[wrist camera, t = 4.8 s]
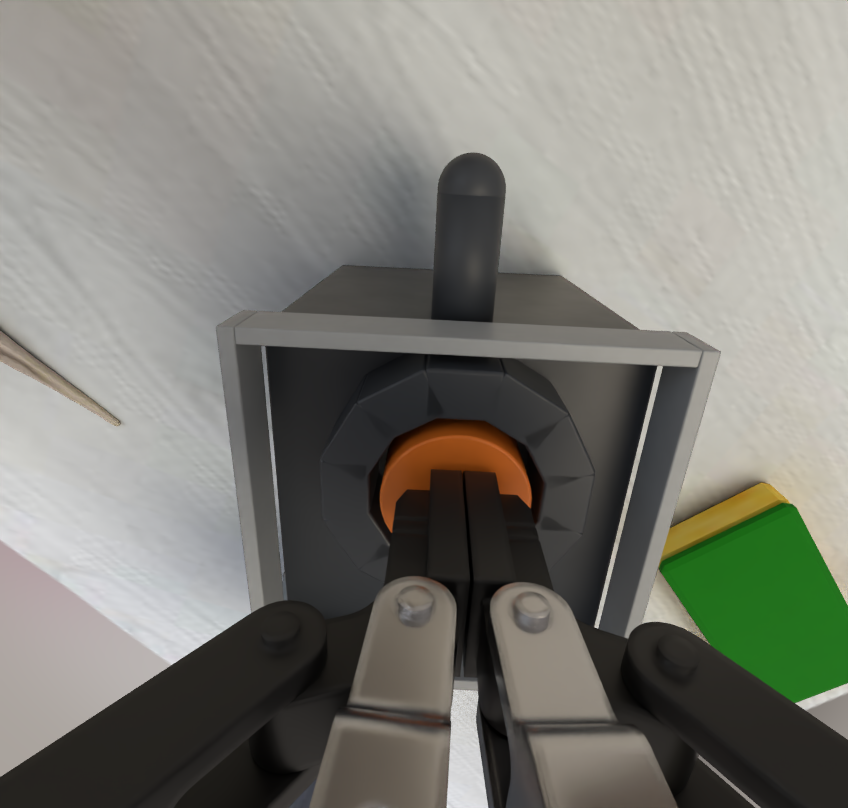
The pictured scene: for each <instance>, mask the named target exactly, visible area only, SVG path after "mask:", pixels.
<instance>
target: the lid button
mask: <svg viewBox="0 0 848 808" xmlns="http://www.w3.org/2000/svg"><path fill="white" fill-rule="evenodd" d="M431 469H440V470H459V471H462V480H463V472H464V471H480V472H495V473H496V477H497V482H498V487H499V492H500V494H510V495H518V496H519V497H520V498H521V499H522V500H523V501H524V502H525V503H526V504H527V505H528V507H529V508H530V509H531V502H532V494H531V487H530V483H529V479H528V476H527V473H526V469H525V466H524V463H523V460H522V456H521V453H520V450H519V447H518V444H517V441H516V440H515V439H514V438H512V437H510V436H509V435H507V434H506V433H504V432H502V431H501V430H499V429H497V428H496V427H494V426H492V425H491V424H489V423H487V422H486V421H477V420H458V419H438V418H437V419H435V420H433V421H430V422H428V423H426V424H424V425H422V426H419V427H417V428H415V429H413V430H411V431H409V432H406V433H404V434H402V435H400V436H398V437H395V438H394V440H393V441H392V442H391V444H390V445H389V449H388V453H387V459H386V464H385V469H384V474H383V479H382V484H381V489H380V508H381V512H382V516H383V518H384V521H385V523H386V525H387V527H388V528H389V530H390V532H391V533H392V527H393V520H394V513H395V506H396V501H397V500H398V499H399V498H400V497H401V496H402V494H403V493H404V492H405V491H406V490H407V489H413V490H430V475H431Z"/></svg>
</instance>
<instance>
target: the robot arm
mask: <svg viewBox="0 0 848 808" xmlns="http://www.w3.org/2000/svg"><path fill="white" fill-rule="evenodd" d="M462 654H463V671H464V677H471V678H477V682H478V696H479V698H478V706H477V714H476V724H477V731H478V738H479V745H480V752H481V759H482V766H483V773H484V780H485V787H486V794H487V801H488V807H489V808H755V807H754V806H753V805H752V804H750V803H749V802H748V801H747V800H746V799H745V798H743V797H742V796H741V795H740V794H739V793H738V792H736V791H735V790H734V789H733V788H732V787H731V786H730V785H729V784H727V783H726V782H725V781H724V780H723V779H722V778H720V777H719V776H718V775H717V774H716V773H715V772H714V771H712V770H711V769H710V768H709V767H708V766H707V765H705V764H704V763H703V762H702V761H701V760H699V759H698V756H699V755H700V756H702V757H703V758H704V759H705V760H706V761H708V762H709V763H710V764H711V765H712V766H713V767H715V768H716V769H717V770H718V771H719V772H720V773H721V774H723V775H724V776H725V777H726V778H727V779H728V780H730V781H731V782H732V783H733V784H734V785H735V786H736V787H738V788H739V789H740V790H741V791H742V792H743V793H745V794H746V795H747V796H748V797H749V798H751V799H752V800H753V801H754V802H755V803H756V804H758V805H759V806H760V807H761V808H848V740H847V739H846V738H844V737H843V736H841V735H840V734H839V733H837V732H836V731H834V730H833V729H831V728H830V727H828V726H827V725H826V724H824V723H823V722H821V721H820V720H818V719H817V718H815V717H814V716H812V715H811V714H810V713H808V712H807V711H805V710H804V709H802V708H801V707H799V706H798V705H796V704H795V703H794V702H792V701H791V700H789V699H788V698H786V697H785V696H783V695H782V694H780V693H779V692H778V691H776V690H775V689H773V688H772V687H770V686H769V685H767V684H766V683H764V682H763V681H762V680H760V679H759V678H757V677H756V676H754V675H753V674H751V673H750V672H748V671H747V670H746V669H744V668H743V667H741V666H740V665H738V664H737V663H735V662H734V661H732V660H731V659H730V658H728V657H727V656H725V655H724V654H722V653H721V652H719V651H718V650H716V649H715V648H714V647H712V646H711V645H709V644H708V643H706V642H705V641H703V640H702V639H701V638H699V637H697V636H696V635H694V634H693V633H691V632H689V631H687V630H685V629H683V628H680V627H678V626H675V625H671V624H668V623H662V622H649V623H644V624H641V625H639V626H637V627H635V628H634V629H633V630H632V631H631V633H630V635H629V638H625V637H622V636H618V635H615V634H612V633H609V632H606V631H603V630H599V629H597V628H594V627H591V626H589V625H587V624H585V623H583V622H581V621H580V620H578V619H577V618H575V617H574V615H573V612H572V610H571V608H570V606H569V605H568V604H567V602H566V601H565V600H564V599H563V598H562V597H561V596H560V595H558V594H557V593H556V592H554V589H553V586H552V582H551V579H550V575H549V572H548V568H547V565H546V561H545V557H544V554H543V550H542V547H541V543H540V541H539V536H538V533H537V529H536V528H535V522H534V519H533V515H532V512H531V509H530V508H529V507H528V505H527V504H526V503H525V502H524V501H523V500H522V499H521V498H520V497H519V496H518V495H510V494H500V492H499V487H498V482H497V477H496V473H495V472H480V471H464V472H463V480H462V471H459V470H440V469H431V475H430V490H413V489H407V490H406V491H405V492H404V493H403V494H402V496H401V497H400V498H399V499H398V500H397V501H396V506H395V513H394V520H393V527H392V534H391V541H390V548H389V555H388V562H387V569H386V576H385V582H384V586H383V588H382V589H381V590H380V591H379V592H378V594H377V596H376V598H375V600H374V601H373V602H372V603H371V604H369V605H368V606H367V607H365V608H363V609H361V610H359V611H357V612H355V613H352V614H348V615H344V616H340V617H335V618H330V619H326V620H325V619H324V617H323V615H322V614H321V612H320V611H319V610H318V609H317V608H315V607H314V606H312V605H310V604H308V603H305V602H301V601H295V600H284V601H277V602H274V603H270V604H267V605H265V606H263V607H261V608H259V609H257V610H255V611H254V612H252V613H251V614H249V615H248V616H246V617H245V618H243V619H242V620H240V621H239V622H237V623H236V624H234V625H232V626H231V627H229V628H228V629H226V630H225V631H223V632H222V633H220V634H219V635H217V636H216V637H214V638H213V639H211V640H209V641H208V642H206V643H205V644H203V645H202V646H200V647H199V648H197V649H196V650H194V651H193V652H191V653H190V654H188V655H187V656H185V657H183V658H182V659H180V660H179V661H177V662H176V663H174V664H173V665H171V666H170V667H168V668H167V669H165V670H164V671H162V672H161V673H159V674H158V675H156V676H154V677H153V678H151V679H150V680H148V681H147V682H145V683H144V684H142V685H141V686H139V687H138V688H136V689H134V690H133V691H131V692H130V693H128V694H127V695H125V696H124V697H122V698H121V699H119V700H118V701H116V702H115V703H113V704H112V705H110V706H108V707H107V708H105V709H104V710H102V711H101V712H99V713H98V714H96V715H95V716H93V717H92V718H90V719H89V720H87V721H86V722H84V723H83V724H81V725H79V726H78V727H76V728H75V729H73V730H72V731H70V732H69V733H67V734H66V735H64V736H62V737H61V738H60V739H58V740H56V741H55V742H53V743H52V744H50V745H49V746H47V747H46V748H44V749H43V750H41V751H40V752H38V753H36V754H35V755H33V756H32V757H30V758H29V759H27V760H26V761H24V762H23V763H21V764H20V765H18V766H17V767H15V768H13V769H12V770H10V771H9V772H7V773H6V774H4V775H3V776H1V777H0V808H289V807H290V806H291V805H292V804H293V802H294V801H295V800H296V799H297V798H298V797H299V796H300V795H301V794H302V793H303V792H304V791H305V790H306V789H307V788H308V787H309V786H310V785H311V784H312V783H313V782H314V781H315V780H316V779H317V781H316V784H315V788H314V792H313V795H312V799H311V802H310V806H309V808H446V806H447V788H448V771H449V753H450V734H451V721H450V716H451V706H452V698H453V687H454V677H460V674H461V664H462Z"/></svg>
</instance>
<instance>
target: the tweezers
mask: <svg viewBox="0 0 848 808" xmlns="http://www.w3.org/2000/svg"><path fill="white" fill-rule="evenodd" d="M0 361H1V362H3V363H5V364H7V365H8V366H10V367H12V368H14V369H16V370H17V371H20V372H22V373H24V374H26V375H28V376H30V377H32V378H33V379H35V380H37V381H39V382H41V383H43V384H44V385H46V386H48V387H50V388H52V389H53V390H55V391H57V392H59V393H60V394H62V395H64V396H65V397H67V398H69V399H71V400H72V401H74V402H76V403H78V404H80V405H82V406H83V407H85V408H87V409H88V410H90V411H91V412H93V413H95V414H97V415H98V416H100V417H102V418H103V419H105V420H106V421H107V422H109V423H111V424H113V425H114V426H119V425H120V424H121V423H120V421H119V420H117V419H116V418H115V417H113V416H112V415H111V414H110V413H108V412H107V411H106V410H105V409H103V408H102V407H101V406H99V405H98V404H97V403H96V402H94V401H93V400H92V399H90V398H89V397H88V396H86V395H85V394H84V393H82V392H81V391H79V390H78V389H77V388H75V387H74V386H73V385H71V384H70V383H69V382H67V381H66V380H65V379H63V378H62V377H61V376H59V375H58V374H57V373H55V372H54V371H53V370H51V369H50V368H48V367H47V366H46V365H44V364H43V363H41V362H40V361H39V360H37V359H36V358H35V357H33V356H32V355H31V354H29V353H28V352H27V351H26V350H24V349H23V348H22V347H20V346H19V345H18V344H16V343H15V342H14V341H13V340H11V339H10V338H9V337H8V336H6V335H5V334H4V333H3V332H1V331H0Z"/></svg>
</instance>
